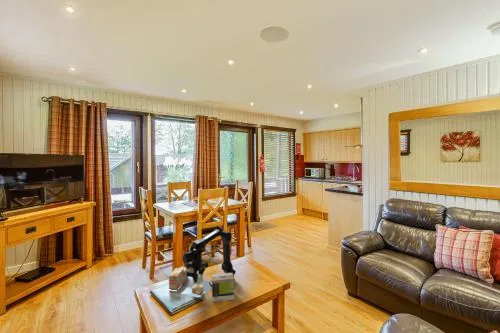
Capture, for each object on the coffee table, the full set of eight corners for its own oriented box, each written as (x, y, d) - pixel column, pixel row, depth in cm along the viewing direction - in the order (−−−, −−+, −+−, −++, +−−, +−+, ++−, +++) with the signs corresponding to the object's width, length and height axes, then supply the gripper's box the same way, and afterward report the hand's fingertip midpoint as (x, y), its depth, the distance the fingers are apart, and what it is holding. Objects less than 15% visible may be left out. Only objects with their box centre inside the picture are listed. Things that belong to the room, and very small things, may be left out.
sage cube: (202, 281, 175) (202, 274, 175) (198, 284, 170) (198, 277, 170) (196, 280, 177) (196, 273, 177) (192, 283, 172) (192, 276, 172)
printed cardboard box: (180, 277, 198) (180, 262, 198) (188, 278, 197) (188, 263, 197) (168, 292, 177) (168, 275, 177) (177, 292, 176) (177, 275, 176)
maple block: (203, 292, 175) (203, 285, 175) (198, 296, 170) (198, 289, 170) (196, 290, 178) (196, 283, 177) (191, 294, 172) (191, 287, 172)
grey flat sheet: (217, 283, 189) (217, 283, 189) (200, 299, 167) (200, 298, 167) (197, 279, 196) (197, 278, 196) (179, 294, 174) (179, 293, 174)
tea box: (232, 292, 177) (233, 272, 176) (234, 300, 167) (234, 278, 167) (211, 294, 174) (211, 273, 174) (212, 302, 164) (212, 280, 164)
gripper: (195, 252, 185) (195, 273, 185) (179, 262, 167) (179, 285, 168) (208, 255, 180) (208, 276, 181) (193, 265, 163) (193, 288, 164)
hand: (197, 281), depth 173 cm, fingers closed on sage cube, 5 cm apart
